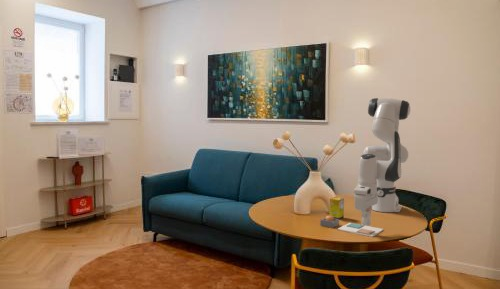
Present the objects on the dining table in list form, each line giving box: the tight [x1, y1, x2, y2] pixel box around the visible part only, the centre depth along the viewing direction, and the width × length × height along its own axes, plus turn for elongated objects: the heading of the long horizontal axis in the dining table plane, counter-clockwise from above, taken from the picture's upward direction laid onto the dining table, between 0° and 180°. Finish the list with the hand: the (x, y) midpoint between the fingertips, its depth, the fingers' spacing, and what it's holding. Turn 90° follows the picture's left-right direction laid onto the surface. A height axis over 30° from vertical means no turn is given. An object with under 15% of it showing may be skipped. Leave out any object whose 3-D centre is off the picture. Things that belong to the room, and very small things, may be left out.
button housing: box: [319, 217, 340, 229], centre depth 207 cm, size 7×7×3 cm
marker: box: [361, 207, 372, 226], centre depth 193 cm, size 4×4×10 cm
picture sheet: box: [337, 222, 384, 238], centre depth 199 cm, size 14×18×1 cm
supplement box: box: [329, 196, 345, 220], centre depth 222 cm, size 6×6×11 cm
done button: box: [325, 215, 334, 221], centre depth 207 cm, size 4×4×3 cm
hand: (366, 216), depth 193 cm, fingers closed on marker, 4 cm apart
